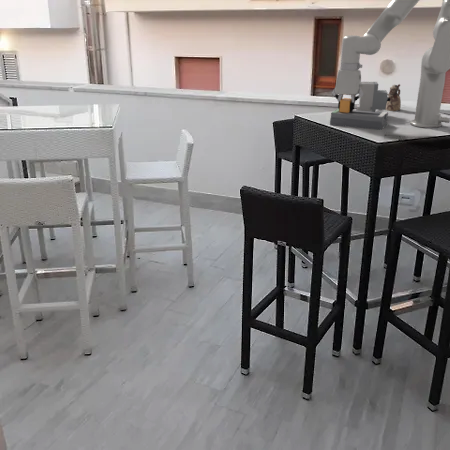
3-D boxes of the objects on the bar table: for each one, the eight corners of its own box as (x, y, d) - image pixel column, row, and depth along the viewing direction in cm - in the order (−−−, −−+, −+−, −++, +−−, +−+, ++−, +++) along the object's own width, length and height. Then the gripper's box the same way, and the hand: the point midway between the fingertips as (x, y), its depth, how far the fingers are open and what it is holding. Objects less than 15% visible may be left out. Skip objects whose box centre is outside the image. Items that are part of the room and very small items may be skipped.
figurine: (382, 108, 243) (385, 83, 238) (394, 107, 245) (398, 83, 240) (389, 111, 237) (392, 85, 232) (403, 110, 238) (406, 85, 233)
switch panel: (387, 124, 212) (388, 111, 210) (381, 129, 203) (382, 116, 201) (337, 119, 222) (338, 107, 219) (329, 124, 213) (330, 112, 211)
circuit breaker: (388, 118, 223) (392, 84, 217) (356, 117, 226) (359, 83, 220) (387, 114, 230) (390, 81, 224) (355, 114, 232) (358, 81, 226)
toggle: (351, 115, 215) (353, 98, 212) (348, 117, 210) (349, 100, 207) (343, 114, 217) (344, 98, 214) (339, 116, 212) (340, 100, 209)
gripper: (371, 66, 205) (367, 110, 212) (332, 65, 212) (329, 107, 220) (367, 68, 199) (362, 114, 206) (327, 67, 206) (324, 110, 214)
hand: (345, 110), depth 213 cm, fingers closed on toggle, 4 cm apart
